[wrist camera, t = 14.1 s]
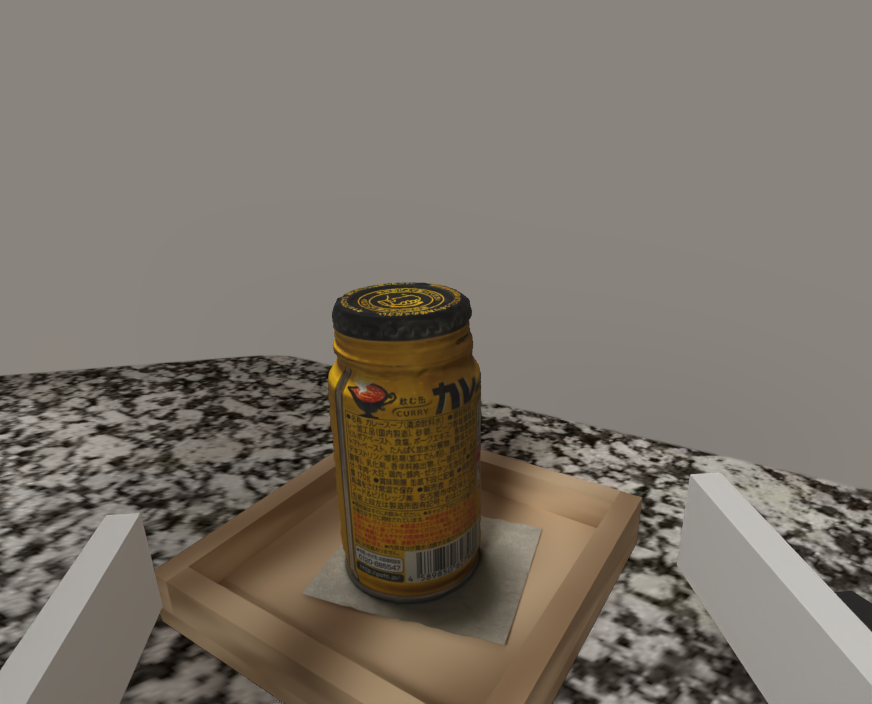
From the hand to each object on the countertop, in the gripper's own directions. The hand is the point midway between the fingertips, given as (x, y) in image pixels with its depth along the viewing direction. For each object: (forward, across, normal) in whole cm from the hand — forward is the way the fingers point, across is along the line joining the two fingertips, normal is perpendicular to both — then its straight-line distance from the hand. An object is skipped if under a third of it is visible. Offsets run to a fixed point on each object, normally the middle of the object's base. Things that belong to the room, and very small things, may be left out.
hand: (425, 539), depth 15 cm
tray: (+10, 0, -10) cm, 14 cm away
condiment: (+10, +1, -9) cm, 13 cm away
